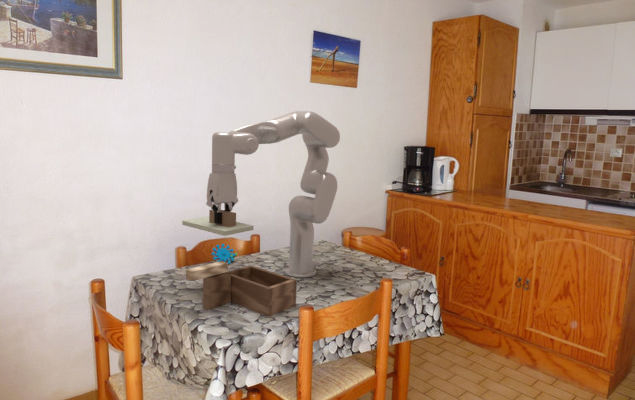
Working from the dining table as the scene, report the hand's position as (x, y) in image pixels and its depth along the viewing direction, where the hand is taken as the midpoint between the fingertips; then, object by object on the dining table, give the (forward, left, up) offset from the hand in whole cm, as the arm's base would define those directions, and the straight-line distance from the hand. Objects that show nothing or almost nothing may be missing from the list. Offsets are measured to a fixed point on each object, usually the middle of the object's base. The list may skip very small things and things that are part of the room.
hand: (222, 222), depth 162 cm
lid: (0, -2, -2) cm, 3 cm away
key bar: (+13, +8, -14) cm, 21 cm away
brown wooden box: (+2, +16, -25) cm, 30 cm away
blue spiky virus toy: (-24, -27, -26) cm, 44 cm away
